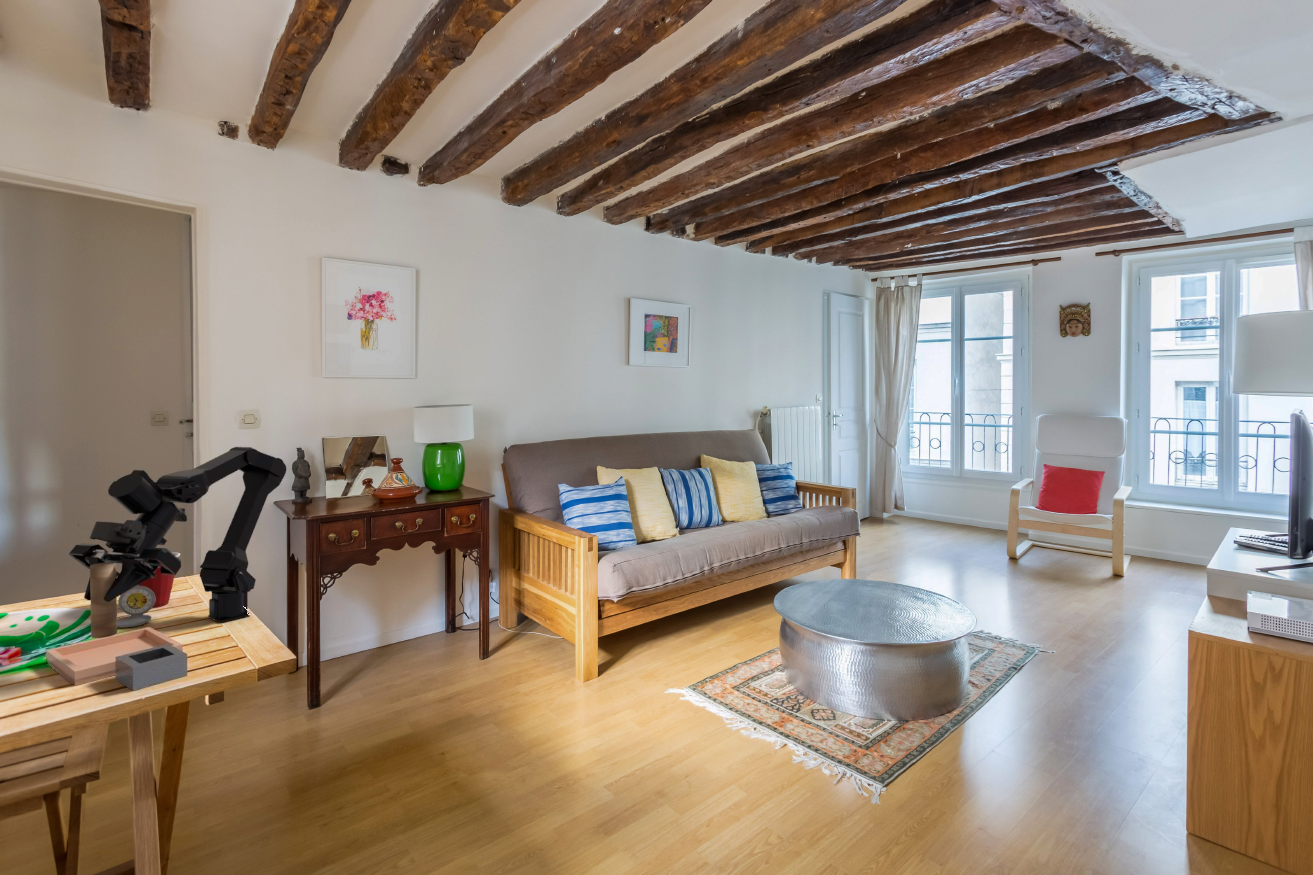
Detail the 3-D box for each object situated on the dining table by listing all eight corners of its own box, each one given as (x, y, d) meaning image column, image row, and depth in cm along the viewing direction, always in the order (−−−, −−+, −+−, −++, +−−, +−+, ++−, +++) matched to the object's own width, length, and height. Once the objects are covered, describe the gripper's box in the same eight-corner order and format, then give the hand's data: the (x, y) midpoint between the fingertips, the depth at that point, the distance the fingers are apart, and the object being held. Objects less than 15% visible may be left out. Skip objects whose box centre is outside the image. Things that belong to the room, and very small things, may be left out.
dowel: (117, 629, 120) (116, 561, 119) (116, 635, 117) (115, 565, 117) (92, 633, 118) (90, 563, 117) (90, 639, 115) (89, 568, 114)
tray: (149, 638, 133) (149, 626, 133) (182, 657, 124) (182, 644, 124) (46, 663, 120) (45, 649, 120) (75, 685, 111) (74, 671, 111)
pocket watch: (119, 631, 137) (119, 585, 136) (104, 623, 141) (103, 578, 141) (164, 621, 144) (164, 577, 143) (148, 613, 148) (148, 571, 148)
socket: (168, 664, 121) (168, 643, 121) (187, 675, 116) (187, 653, 116) (115, 678, 114) (115, 656, 114) (133, 690, 110) (132, 668, 110)
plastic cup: (153, 596, 160) (153, 549, 160) (191, 599, 159) (191, 552, 158) (111, 610, 150) (110, 559, 149) (151, 613, 148) (151, 562, 148)
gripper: (78, 501, 121) (15, 574, 111) (167, 506, 119) (112, 580, 109) (118, 534, 129) (62, 604, 119) (202, 539, 127) (153, 611, 117)
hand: (96, 599), depth 116 cm, fingers closed on dowel, 4 cm apart
